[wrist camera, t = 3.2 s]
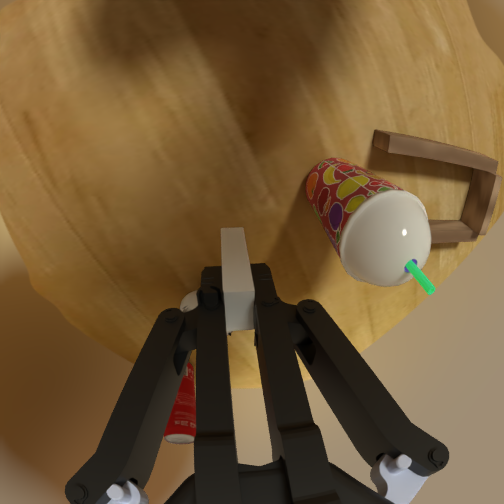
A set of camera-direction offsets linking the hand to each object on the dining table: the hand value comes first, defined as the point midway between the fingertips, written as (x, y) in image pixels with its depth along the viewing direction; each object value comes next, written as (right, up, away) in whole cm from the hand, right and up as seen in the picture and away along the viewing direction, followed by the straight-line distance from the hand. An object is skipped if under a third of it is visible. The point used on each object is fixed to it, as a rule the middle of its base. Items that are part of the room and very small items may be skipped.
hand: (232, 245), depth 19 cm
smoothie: (+10, +8, +13) cm, 18 cm away
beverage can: (-12, -21, +28) cm, 37 cm away
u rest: (+27, +9, +14) cm, 31 cm away
